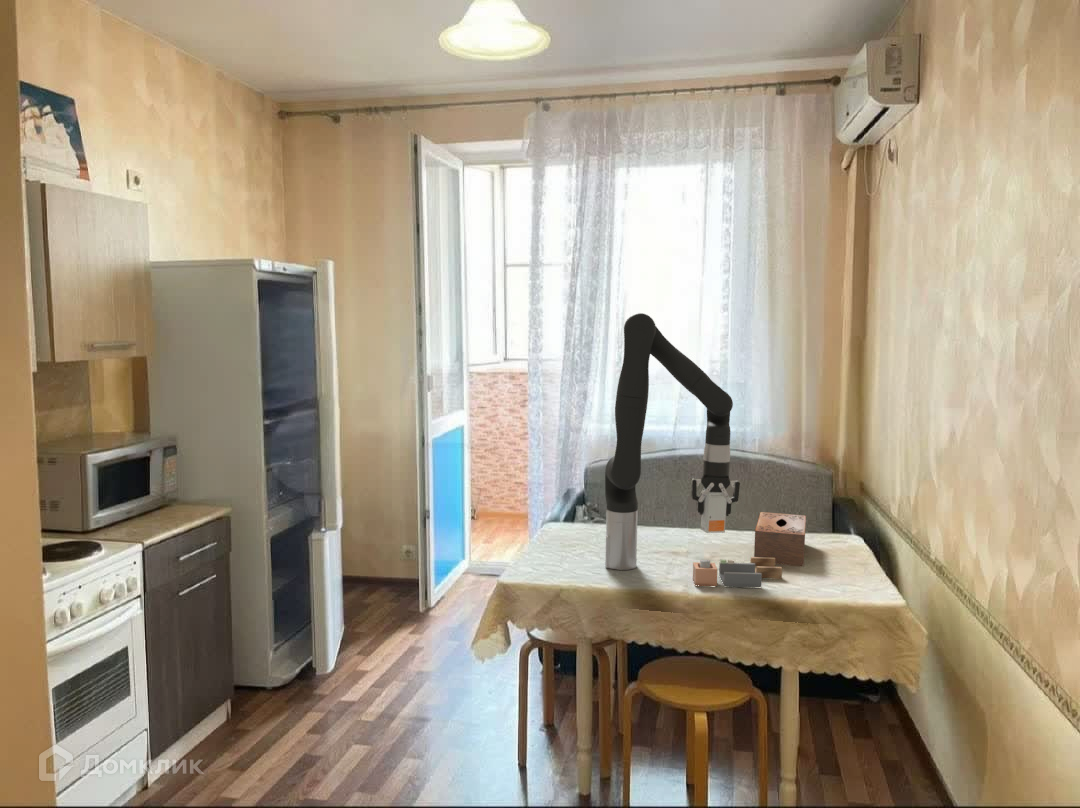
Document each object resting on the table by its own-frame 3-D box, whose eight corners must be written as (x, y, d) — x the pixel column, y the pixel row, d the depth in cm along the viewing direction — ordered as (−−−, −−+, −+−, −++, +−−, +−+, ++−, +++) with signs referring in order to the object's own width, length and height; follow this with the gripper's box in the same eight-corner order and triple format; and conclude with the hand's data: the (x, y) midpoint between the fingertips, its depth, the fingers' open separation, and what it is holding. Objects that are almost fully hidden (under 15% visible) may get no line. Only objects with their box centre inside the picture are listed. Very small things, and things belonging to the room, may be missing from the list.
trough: (756, 578, 237) (757, 567, 236) (750, 567, 247) (750, 556, 247) (781, 579, 236) (782, 568, 236) (774, 568, 246) (774, 557, 246)
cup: (695, 586, 229) (695, 563, 228) (692, 579, 235) (693, 557, 234) (717, 586, 229) (717, 564, 228) (713, 580, 235) (714, 558, 234)
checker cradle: (724, 587, 228) (724, 570, 228) (718, 575, 239) (719, 559, 238) (761, 588, 228) (761, 571, 227) (754, 576, 238) (754, 560, 237)
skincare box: (706, 533, 240) (708, 493, 239) (700, 529, 244) (702, 489, 243) (725, 532, 242) (727, 492, 241) (718, 529, 246) (721, 489, 245)
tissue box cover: (803, 567, 248) (804, 534, 247) (753, 562, 253) (755, 530, 252) (804, 545, 273) (805, 515, 272) (759, 541, 277) (760, 511, 276)
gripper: (693, 460, 238) (690, 516, 239) (743, 462, 237) (740, 519, 238) (690, 456, 245) (687, 510, 247) (739, 458, 244) (736, 513, 246)
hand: (713, 514), depth 243 cm, fingers closed on skincare box, 7 cm apart
